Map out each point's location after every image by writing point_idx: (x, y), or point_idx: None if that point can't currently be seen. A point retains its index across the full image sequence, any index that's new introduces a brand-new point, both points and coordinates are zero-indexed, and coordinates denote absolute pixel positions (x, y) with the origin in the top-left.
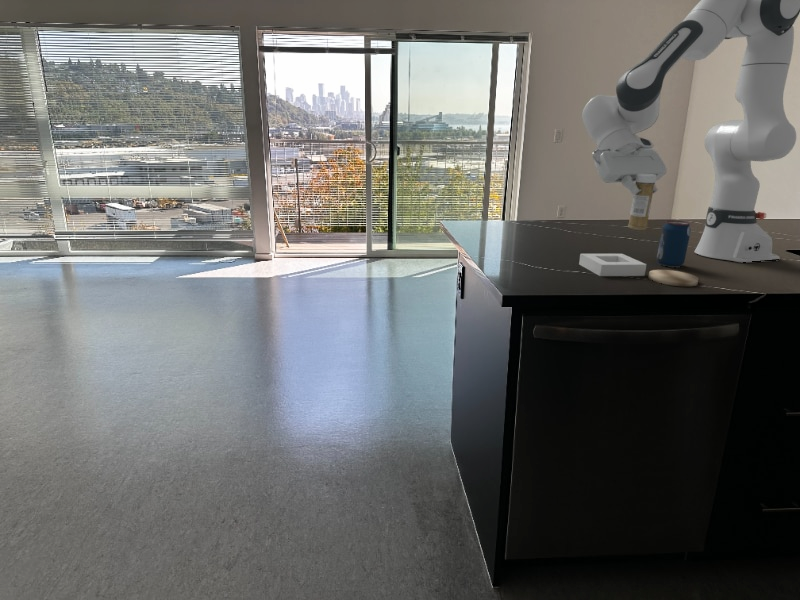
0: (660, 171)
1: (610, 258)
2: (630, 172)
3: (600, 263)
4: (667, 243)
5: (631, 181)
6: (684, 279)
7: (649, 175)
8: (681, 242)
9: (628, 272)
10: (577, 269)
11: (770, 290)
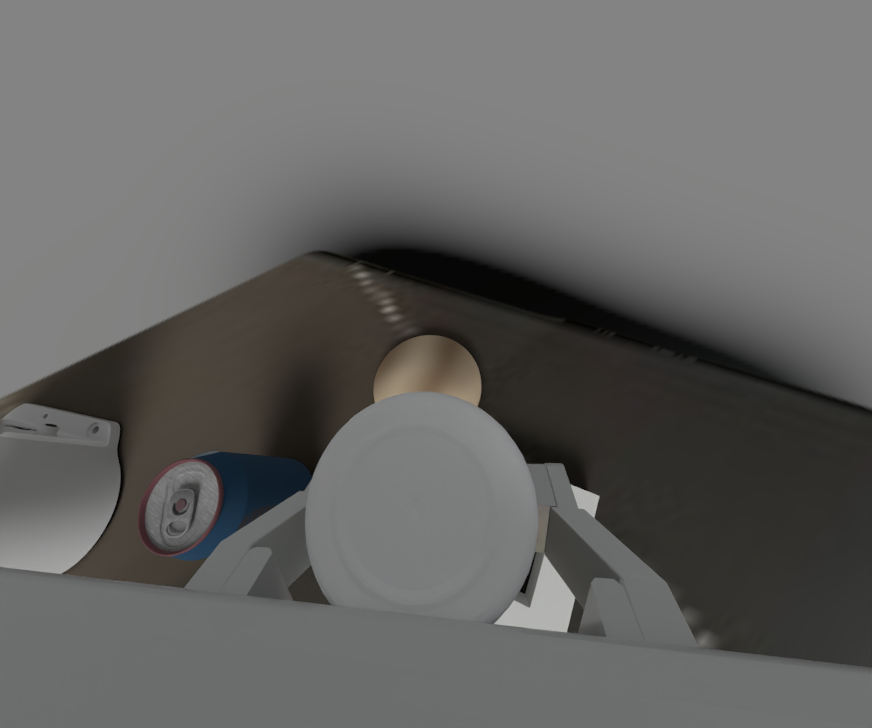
0: (37, 579)
1: None
2: (662, 658)
3: (591, 510)
4: (281, 493)
5: (617, 549)
6: (434, 351)
7: (476, 413)
8: (260, 458)
9: None
10: None
11: (321, 274)
